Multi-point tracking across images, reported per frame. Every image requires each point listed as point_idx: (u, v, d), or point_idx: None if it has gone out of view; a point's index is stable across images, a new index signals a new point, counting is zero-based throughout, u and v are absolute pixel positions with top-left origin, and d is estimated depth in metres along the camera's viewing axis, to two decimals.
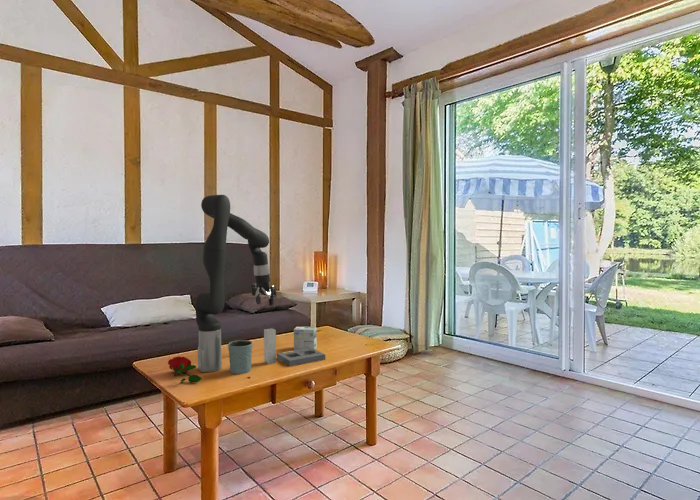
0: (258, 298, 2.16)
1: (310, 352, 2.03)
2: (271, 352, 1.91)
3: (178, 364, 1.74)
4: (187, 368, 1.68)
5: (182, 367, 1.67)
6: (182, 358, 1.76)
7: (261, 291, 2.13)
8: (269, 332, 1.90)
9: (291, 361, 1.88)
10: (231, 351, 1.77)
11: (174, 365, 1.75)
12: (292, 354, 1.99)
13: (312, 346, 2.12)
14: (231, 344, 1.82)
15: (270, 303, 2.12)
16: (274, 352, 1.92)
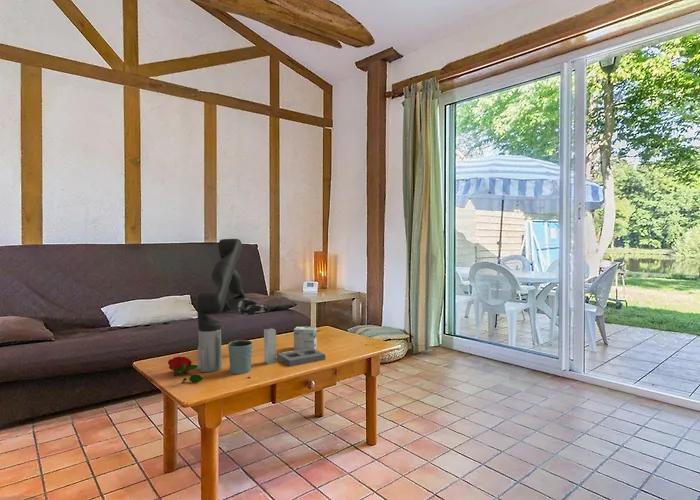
0: None
1: (310, 352, 2.03)
2: (271, 352, 1.91)
3: (179, 364, 1.74)
4: (188, 368, 1.68)
5: (183, 367, 1.67)
6: (182, 358, 1.76)
7: (253, 307, 2.08)
8: (269, 332, 1.90)
9: (291, 361, 1.88)
10: (231, 351, 1.77)
11: (174, 365, 1.75)
12: (292, 354, 1.99)
13: (312, 346, 2.12)
14: (231, 344, 1.82)
15: (267, 308, 2.06)
16: (274, 352, 1.92)
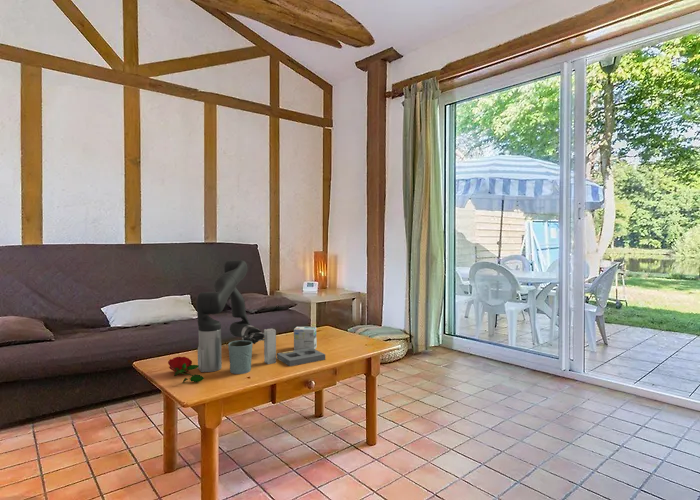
0: None
1: (310, 352, 2.03)
2: (271, 352, 1.91)
3: (179, 364, 1.74)
4: (189, 368, 1.68)
5: (184, 367, 1.67)
6: (183, 358, 1.76)
7: (257, 335, 2.04)
8: (269, 332, 1.90)
9: (291, 361, 1.88)
10: (231, 351, 1.77)
11: (175, 365, 1.75)
12: (292, 354, 1.99)
13: (312, 346, 2.12)
14: (231, 344, 1.82)
15: None
16: (274, 352, 1.92)
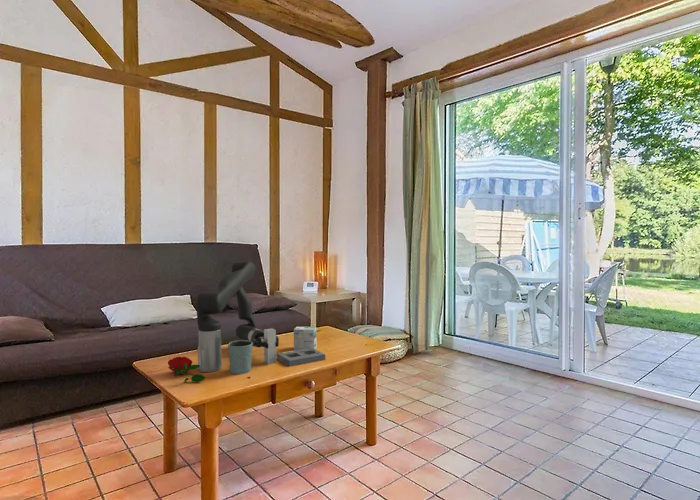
0: None
1: (310, 352, 2.03)
2: (271, 352, 1.91)
3: (179, 364, 1.74)
4: (190, 368, 1.68)
5: (185, 367, 1.68)
6: (183, 358, 1.76)
7: None
8: (269, 332, 1.90)
9: (291, 361, 1.88)
10: (231, 351, 1.77)
11: (175, 365, 1.75)
12: (292, 354, 1.99)
13: (312, 346, 2.12)
14: (231, 344, 1.82)
15: (276, 341, 1.93)
16: (274, 352, 1.92)
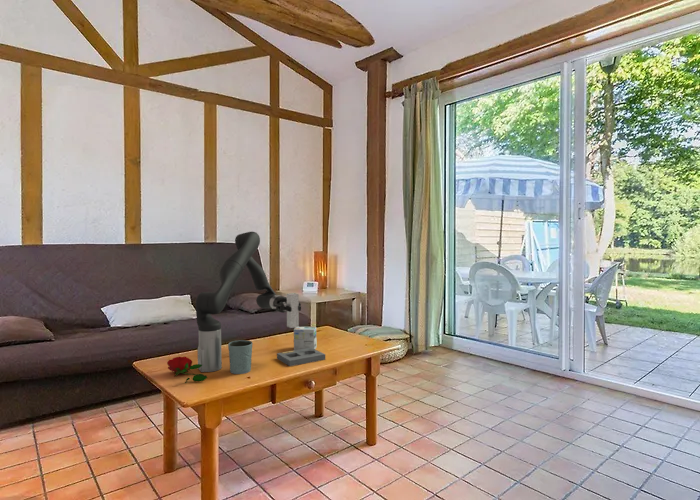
0: None
1: (310, 352, 2.03)
2: (294, 316, 1.93)
3: (179, 364, 1.74)
4: (191, 367, 1.68)
5: (186, 367, 1.68)
6: (183, 358, 1.76)
7: None
8: (292, 296, 1.93)
9: (291, 361, 1.88)
10: (231, 351, 1.77)
11: (175, 365, 1.74)
12: (292, 354, 1.99)
13: (312, 346, 2.12)
14: (231, 344, 1.82)
15: (299, 306, 1.95)
16: (296, 316, 1.94)
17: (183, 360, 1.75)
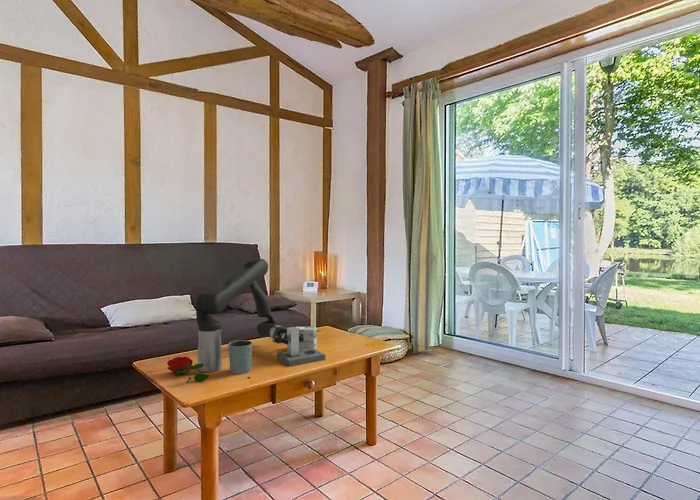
0: None
1: (310, 352, 2.03)
2: (294, 350, 1.94)
3: (180, 364, 1.74)
4: (193, 367, 1.69)
5: (188, 366, 1.68)
6: (184, 358, 1.76)
7: None
8: (292, 330, 1.93)
9: (291, 361, 1.88)
10: (231, 351, 1.77)
11: (176, 365, 1.74)
12: None
13: (312, 346, 2.12)
14: (231, 344, 1.82)
15: (301, 337, 1.97)
16: (297, 350, 1.95)
17: (184, 360, 1.75)
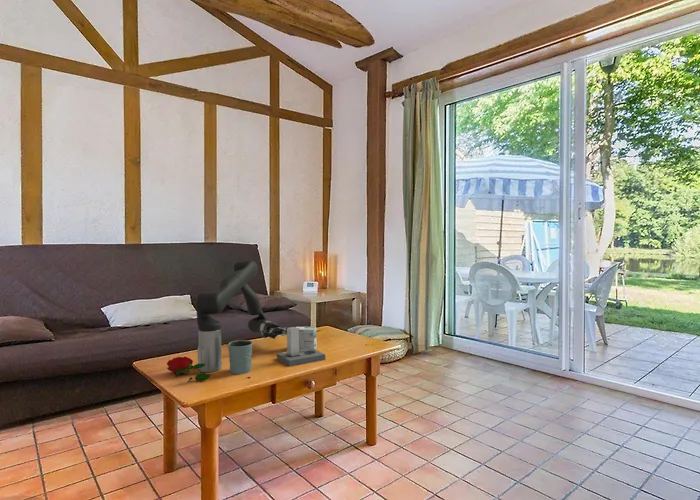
0: None
1: (310, 352, 2.03)
2: (294, 350, 1.94)
3: (180, 364, 1.74)
4: (194, 367, 1.69)
5: (189, 366, 1.68)
6: (184, 358, 1.76)
7: (276, 330, 2.10)
8: (292, 330, 1.93)
9: (291, 361, 1.88)
10: (231, 351, 1.77)
11: (176, 365, 1.74)
12: None
13: (312, 346, 2.12)
14: (231, 344, 1.82)
15: None
16: (297, 350, 1.95)
17: (184, 360, 1.75)
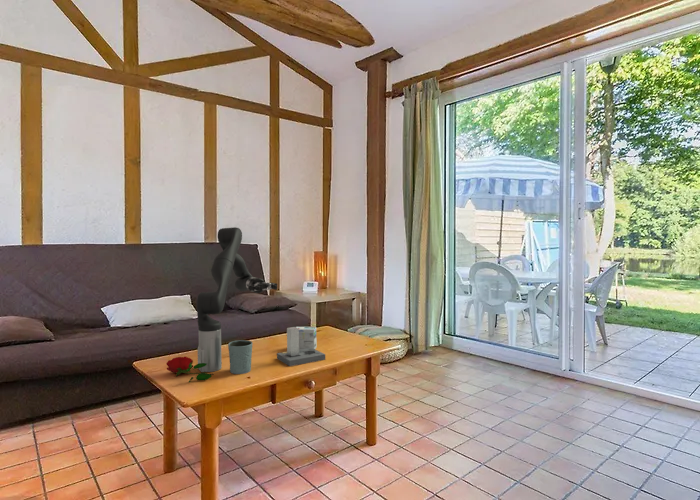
0: None
1: (310, 352, 2.03)
2: (294, 350, 1.94)
3: (181, 364, 1.74)
4: (195, 367, 1.69)
5: (190, 366, 1.68)
6: (184, 358, 1.76)
7: (261, 284, 2.12)
8: (292, 330, 1.93)
9: (291, 361, 1.88)
10: (231, 351, 1.77)
11: (176, 365, 1.74)
12: None
13: (312, 346, 2.12)
14: (231, 344, 1.82)
15: (275, 285, 2.10)
16: (297, 350, 1.95)
17: (184, 360, 1.75)
